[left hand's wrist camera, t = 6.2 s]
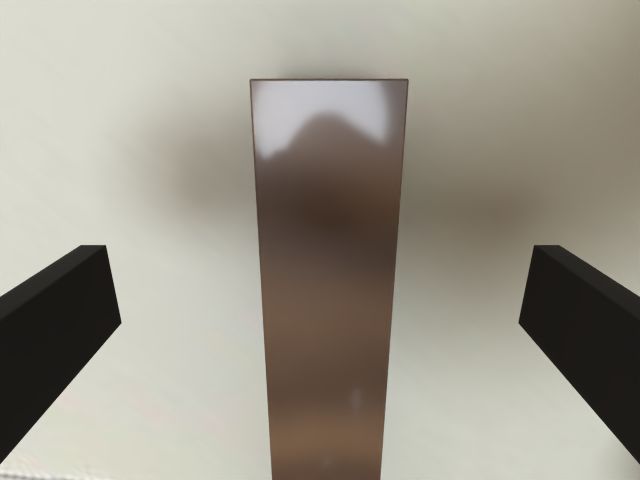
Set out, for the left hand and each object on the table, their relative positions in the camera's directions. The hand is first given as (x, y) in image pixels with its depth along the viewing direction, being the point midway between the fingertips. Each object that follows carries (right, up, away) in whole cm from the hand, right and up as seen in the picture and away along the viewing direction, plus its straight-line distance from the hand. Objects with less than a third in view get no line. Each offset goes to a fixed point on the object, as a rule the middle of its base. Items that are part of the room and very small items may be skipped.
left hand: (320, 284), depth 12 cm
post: (0, -16, +18) cm, 24 cm away
